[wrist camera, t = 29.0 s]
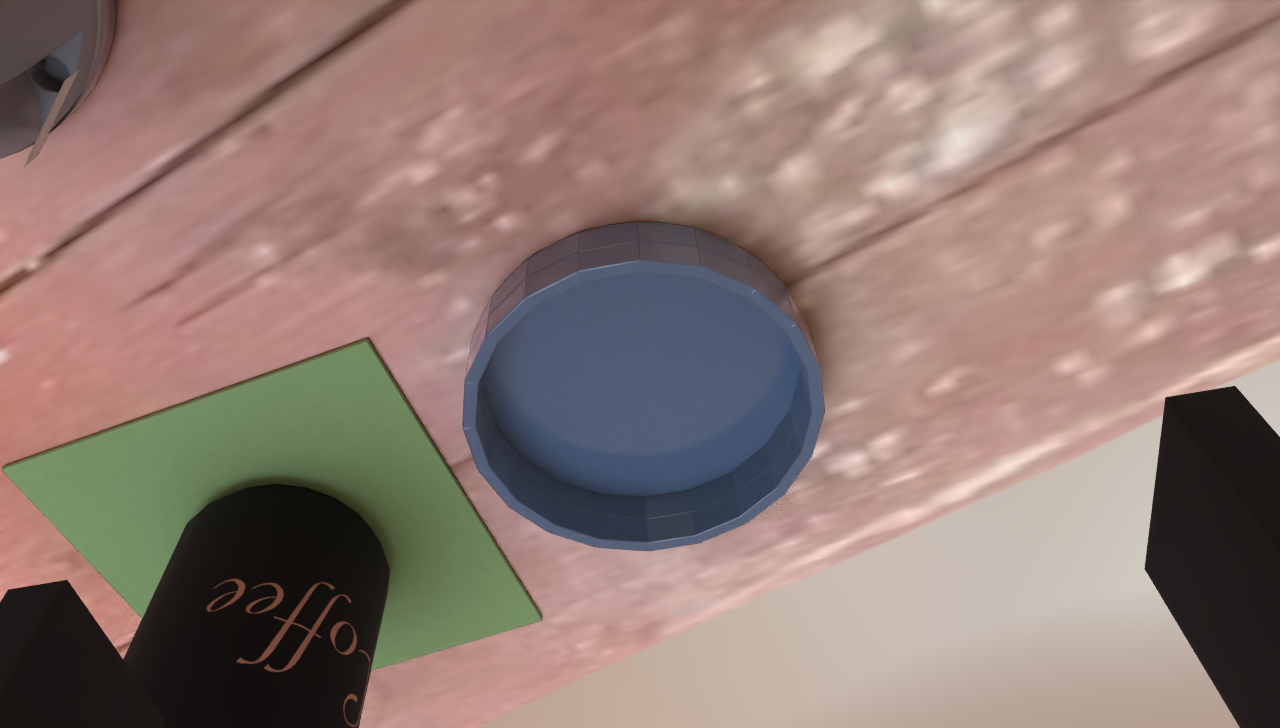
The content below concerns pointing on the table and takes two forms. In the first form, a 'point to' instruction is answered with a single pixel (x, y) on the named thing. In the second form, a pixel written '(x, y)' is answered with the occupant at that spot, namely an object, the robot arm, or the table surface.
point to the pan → (642, 388)
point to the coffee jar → (265, 615)
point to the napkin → (298, 456)
